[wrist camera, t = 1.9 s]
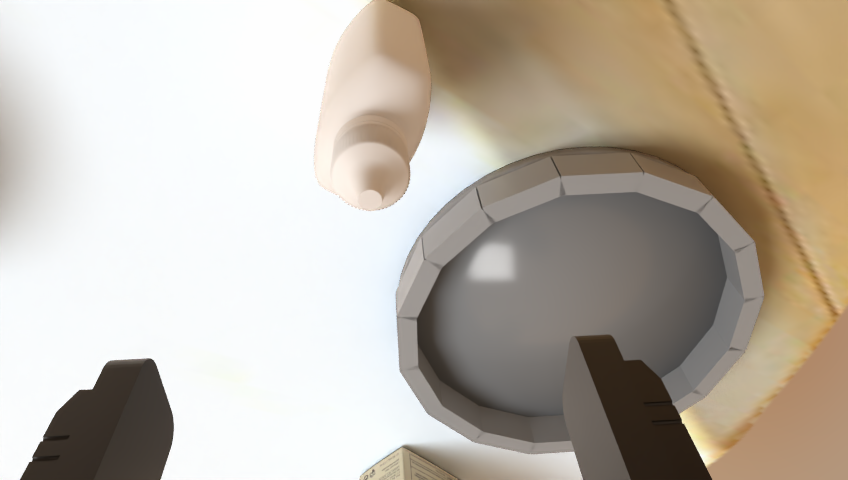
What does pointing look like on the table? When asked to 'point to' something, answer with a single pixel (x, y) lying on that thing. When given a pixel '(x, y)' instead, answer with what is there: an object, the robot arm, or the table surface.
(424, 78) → the eye dropper bottle
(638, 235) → the round tray
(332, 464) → the table surface
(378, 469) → the skincare box
